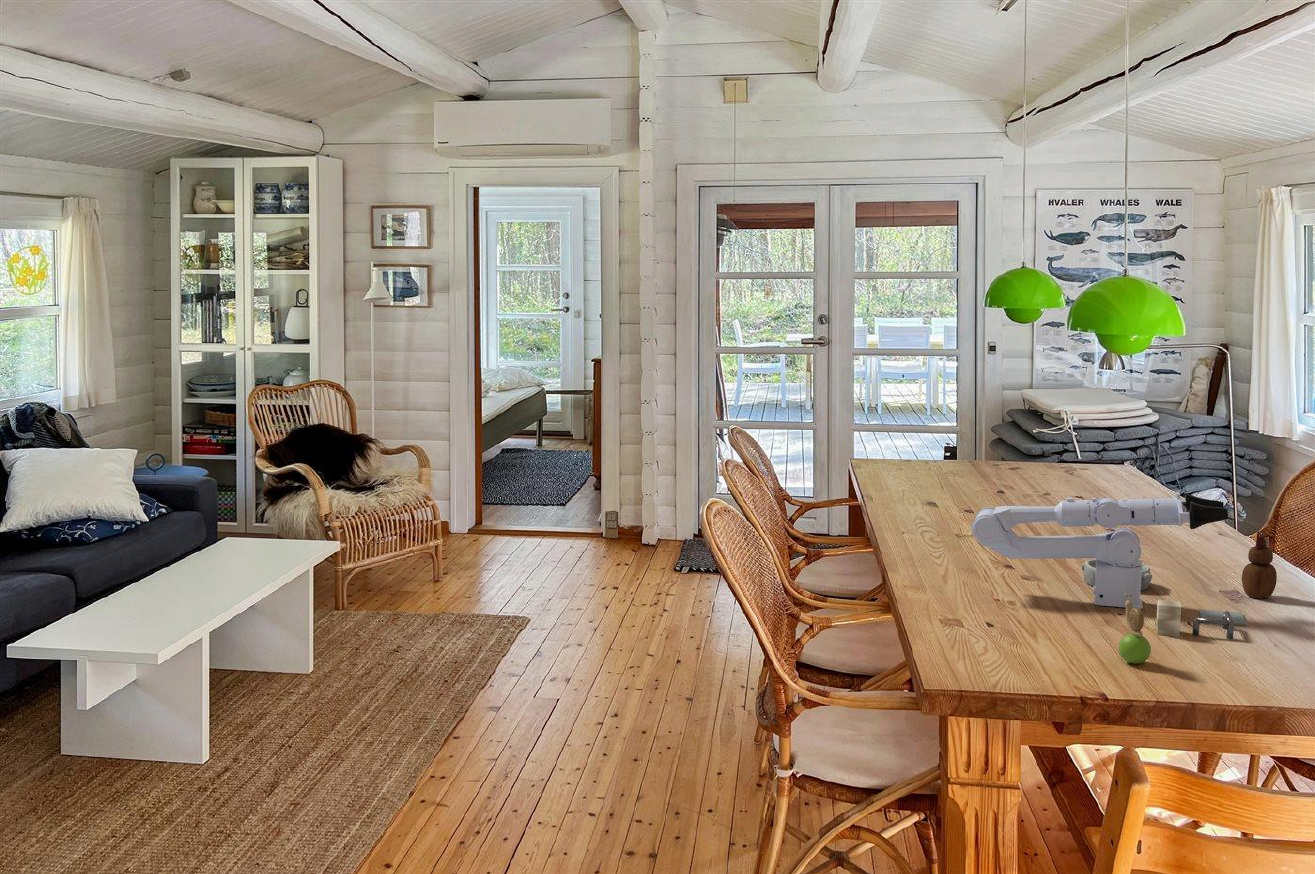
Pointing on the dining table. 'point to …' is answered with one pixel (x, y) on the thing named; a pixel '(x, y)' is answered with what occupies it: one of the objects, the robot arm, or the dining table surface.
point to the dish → (1090, 565)
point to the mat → (1218, 615)
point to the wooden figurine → (1259, 571)
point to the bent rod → (1225, 622)
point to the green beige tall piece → (1134, 636)
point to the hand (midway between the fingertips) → (1225, 510)
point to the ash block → (1168, 618)
